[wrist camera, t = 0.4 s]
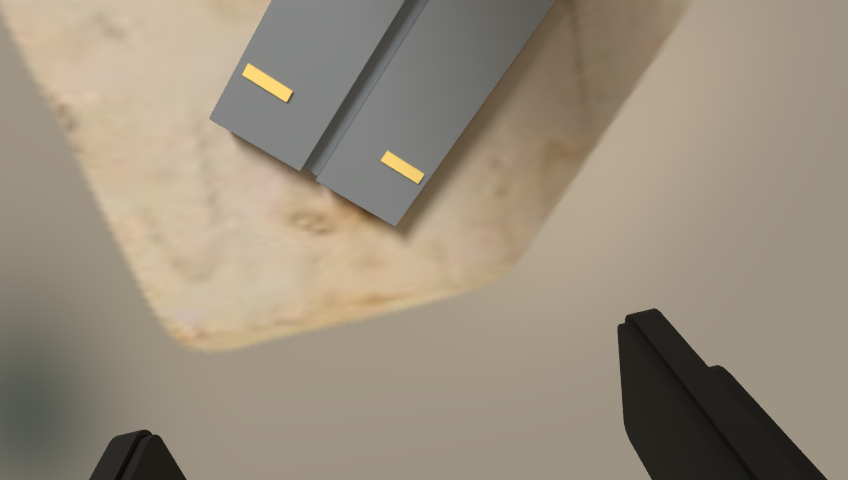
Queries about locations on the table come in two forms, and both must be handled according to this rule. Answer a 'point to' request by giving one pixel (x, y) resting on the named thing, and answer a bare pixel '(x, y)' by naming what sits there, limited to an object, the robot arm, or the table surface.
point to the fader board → (372, 87)
